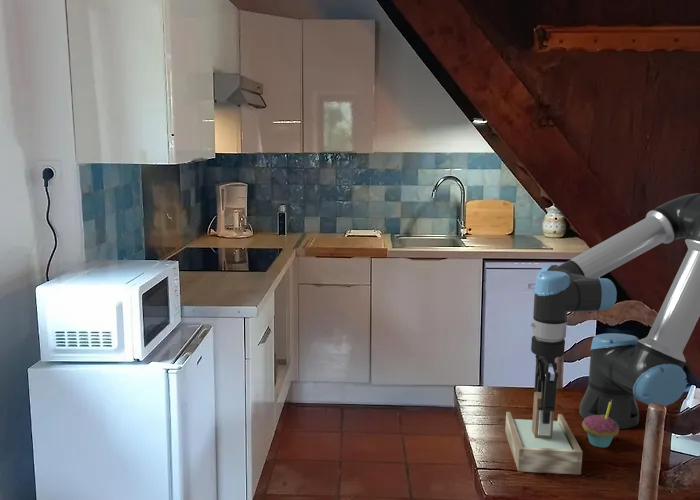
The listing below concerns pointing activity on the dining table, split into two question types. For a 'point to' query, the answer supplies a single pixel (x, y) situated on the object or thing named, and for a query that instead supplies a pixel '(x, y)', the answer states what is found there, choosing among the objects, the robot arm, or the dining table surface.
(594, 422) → the cupcake
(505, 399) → the dining table surface
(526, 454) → the birch box
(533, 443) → the cover plate
